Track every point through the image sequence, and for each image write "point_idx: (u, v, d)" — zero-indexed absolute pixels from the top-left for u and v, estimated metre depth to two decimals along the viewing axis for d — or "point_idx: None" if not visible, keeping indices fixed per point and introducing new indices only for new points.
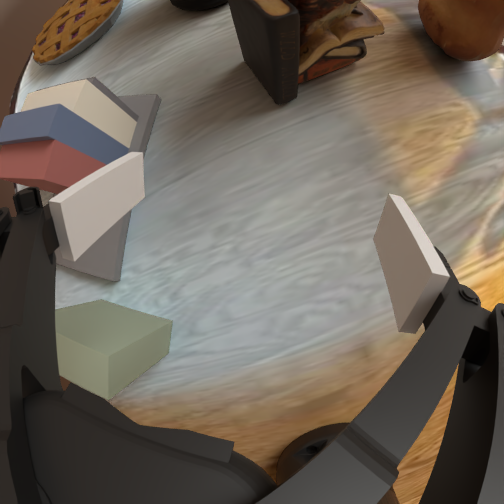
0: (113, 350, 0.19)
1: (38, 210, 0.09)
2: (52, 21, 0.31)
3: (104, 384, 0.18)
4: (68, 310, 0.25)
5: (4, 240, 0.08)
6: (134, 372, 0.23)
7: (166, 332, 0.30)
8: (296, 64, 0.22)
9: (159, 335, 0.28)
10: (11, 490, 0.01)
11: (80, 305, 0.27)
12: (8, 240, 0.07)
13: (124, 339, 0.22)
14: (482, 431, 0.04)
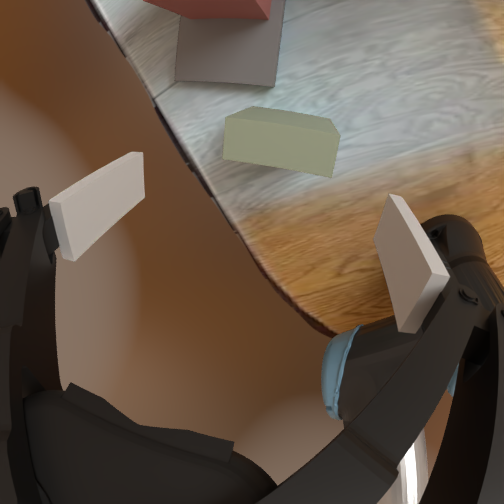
0: (336, 132, 0.23)
1: (38, 210, 0.09)
2: None
3: (330, 162, 0.24)
4: (248, 112, 0.28)
5: (4, 240, 0.08)
6: None
7: None
8: None
9: None
10: (11, 490, 0.01)
11: (248, 109, 0.30)
12: (8, 240, 0.07)
13: (327, 127, 0.26)
14: (482, 431, 0.04)
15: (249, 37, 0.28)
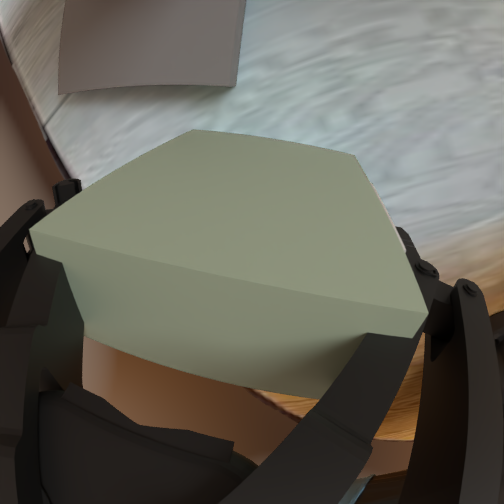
0: (406, 277, 0.06)
1: None
2: None
3: None
4: (145, 164, 0.10)
5: None
6: None
7: None
8: None
9: None
10: (11, 490, 0.01)
11: (163, 147, 0.13)
12: None
13: (368, 220, 0.08)
14: (456, 411, 0.04)
15: None
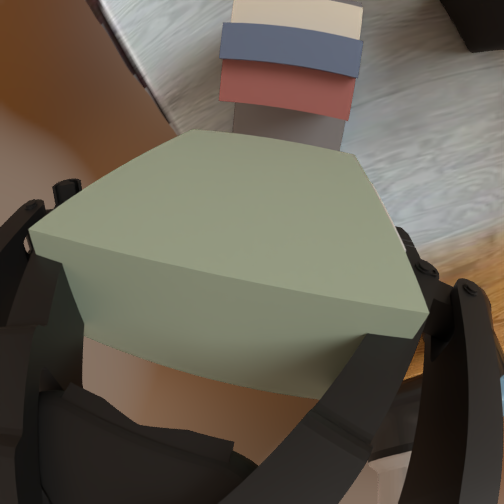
0: (407, 277, 0.06)
1: None
2: None
3: None
4: (145, 164, 0.10)
5: None
6: None
7: None
8: None
9: None
10: (11, 490, 0.01)
11: (163, 147, 0.13)
12: None
13: (368, 220, 0.08)
14: (456, 411, 0.04)
15: (312, 126, 0.31)
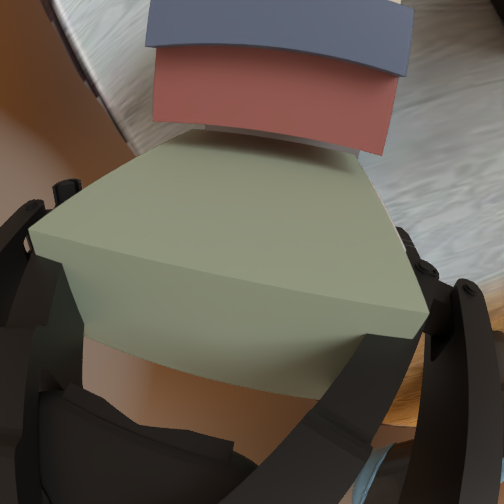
0: (407, 277, 0.06)
1: None
2: None
3: None
4: (144, 164, 0.10)
5: None
6: None
7: None
8: None
9: None
10: (11, 490, 0.01)
11: (163, 147, 0.13)
12: None
13: (368, 220, 0.08)
14: (456, 411, 0.04)
15: (315, 145, 0.22)
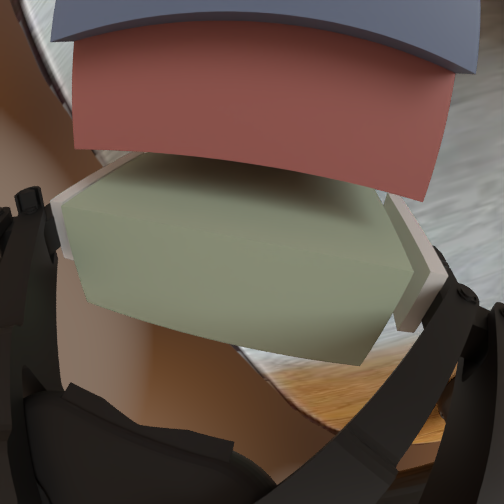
0: (395, 245, 0.07)
1: (39, 210, 0.09)
2: None
3: (365, 339, 0.08)
4: (162, 155, 0.12)
5: (5, 240, 0.08)
6: None
7: None
8: None
9: None
10: (11, 490, 0.01)
11: None
12: (9, 240, 0.07)
13: (361, 202, 0.10)
14: (481, 430, 0.04)
15: None
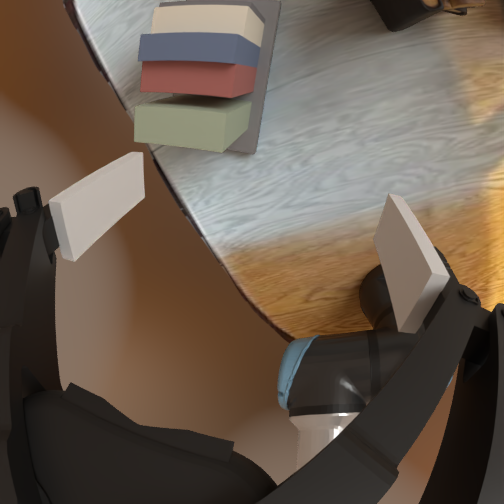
0: (227, 111, 0.26)
1: (38, 210, 0.09)
2: None
3: (220, 139, 0.26)
4: (165, 100, 0.30)
5: (4, 240, 0.08)
6: (234, 135, 0.30)
7: (248, 110, 0.35)
8: None
9: (245, 110, 0.33)
10: (11, 490, 0.01)
11: (170, 97, 0.32)
12: (8, 240, 0.07)
13: (228, 108, 0.28)
14: (482, 431, 0.04)
15: None
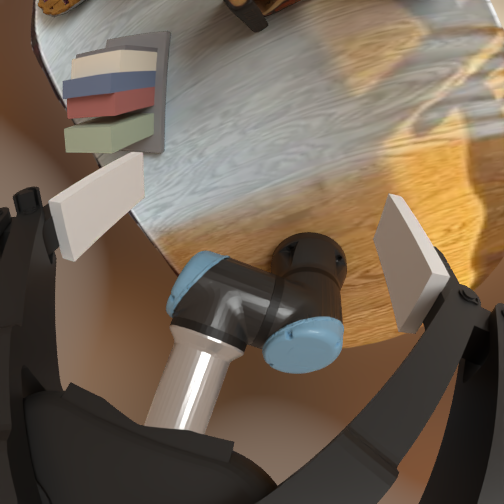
0: (114, 125, 0.35)
1: (38, 210, 0.09)
2: None
3: (109, 144, 0.35)
4: (89, 121, 0.39)
5: (3, 240, 0.08)
6: (128, 140, 0.40)
7: (149, 120, 0.44)
8: (260, 17, 0.29)
9: (144, 120, 0.42)
10: (11, 490, 0.01)
11: (96, 118, 0.42)
12: (8, 240, 0.07)
13: (121, 122, 0.37)
14: (482, 431, 0.04)
15: None
